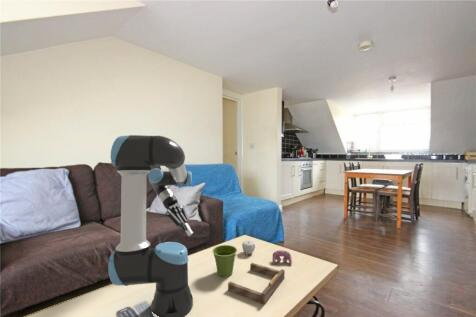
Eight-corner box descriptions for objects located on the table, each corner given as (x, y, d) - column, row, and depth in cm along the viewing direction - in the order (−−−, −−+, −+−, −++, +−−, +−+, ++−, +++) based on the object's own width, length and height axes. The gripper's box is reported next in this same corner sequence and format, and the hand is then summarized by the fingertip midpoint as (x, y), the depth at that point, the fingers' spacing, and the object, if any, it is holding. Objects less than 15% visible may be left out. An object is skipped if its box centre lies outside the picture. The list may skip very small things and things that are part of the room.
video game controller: (291, 265, 121) (290, 250, 124) (292, 265, 117) (291, 250, 120) (272, 264, 122) (272, 250, 125) (272, 264, 118) (272, 249, 121)
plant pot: (208, 270, 113) (208, 247, 113) (230, 264, 118) (230, 243, 118) (218, 282, 103) (218, 257, 102) (241, 276, 108) (241, 252, 108)
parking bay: (228, 290, 97) (228, 279, 97) (251, 268, 115) (251, 259, 114) (264, 304, 88) (264, 292, 88) (284, 278, 106) (284, 268, 106)
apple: (244, 249, 137) (244, 238, 137) (257, 251, 135) (256, 239, 134) (239, 254, 130) (239, 243, 130) (253, 257, 127) (253, 245, 127)
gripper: (174, 201, 135) (195, 234, 127) (155, 205, 124) (178, 242, 116) (180, 193, 133) (202, 226, 124) (162, 197, 121) (185, 234, 113)
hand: (190, 234), depth 120 cm, fingers closed
